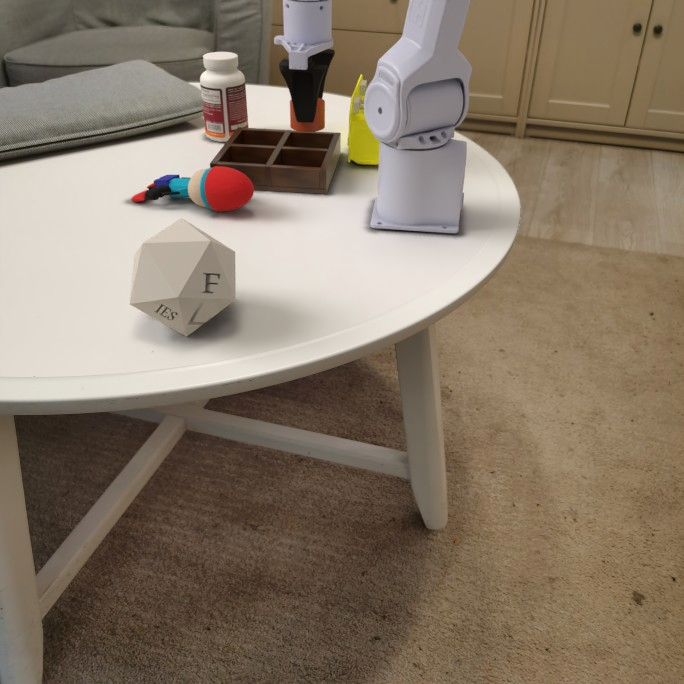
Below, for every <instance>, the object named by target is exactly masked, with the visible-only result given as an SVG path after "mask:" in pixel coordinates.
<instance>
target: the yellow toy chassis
mask: <svg viewBox="0 0 684 684" xmlns="http://www.w3.org/2000/svg"><path fill="white" fill-rule="evenodd" d="M367 88H368V80H367V79H364V77H363V74H360V75H359V78H358V79H357V82H356V85H355V87H354V90H353V92H352V95H351V98H350V104H349V114H348V137H347V147H348V151H347V152H348V153H347V154H348V155H347V162H348V163H351V161H353V162H355V163H356V164H358V165H362V166H363V165H364V166H372V165H375V166H379V148H380V141H379V140H377V139H375V138H374V134H373V133H372V132H371V130H370V128H369V127H368V124H367V122H366V119H365V114H364V98H365V94H366V90H367Z"/></svg>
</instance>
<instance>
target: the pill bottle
mask: <svg viewBox="0 0 684 684" xmlns="http://www.w3.org/2000/svg"><path fill="white" fill-rule="evenodd" d="M202 61H203V62H202V63H203V67H204V68H205V71H203V72H202V73H201V75H200V76H199V84H200V94H201V104H202V113H203V123H204V132H205V136H206V138H208V140H211V141H213V142H219V143H226V142H227V141H228V140H229V138H230V137H231V136H232V134H233V133H234V132H235V131H236V129H237V128H238V127H242V128H250V127H249V115H248V105H247V104H248V103H247V102H248V100H247V88H246V78H245V74H244V73H243V71H241V70H239V69H238V67H239V55H238V54H237V53H235V52H230V51H212V52H208V53H205V54H203V55H202Z"/></svg>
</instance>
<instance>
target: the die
mask: <svg viewBox="0 0 684 684" xmlns="http://www.w3.org/2000/svg"><path fill="white" fill-rule="evenodd" d="M131 275H132V276H131V285H130V295H129V305H130V306H132V307H133V308H136V309H137V310H139V311H141V312H142V313H144V314H146V315H147V316H149V317H151V318H153V319H154V320H156V321H159V322H160V323H161V324H163V325H165V326H166V327H169V328H170V329H172V330H174V331H175V332H177V333H179V334H181V335H183V336H184V337H186V338H187V337H188V336H190V335H191V334H193V333H194V332H195V331H196V330H198V329H199V328H200V327H202V326H203V325H204V324H206V323H207V322H208V321H210V320H211V319H212V318H214V317H215V316H216V315H218V314H219V313H220V312H221V311H223V310H224V309H225V308H227V307H228V306H229V305H231V304H232V303H234V302H235V301H236V300H237V299H236V298H237V297H236V295H237V294H236V293H237V292H236V291H237V290H236V285H237V284H236V250H235V251H234V250H233V249H232V248H230V247H228V246H227V245H225V244H223V243H222V242H221V241H219V240H218V239H216V238H215V237H213V236H211V235H209V234H208V233H207V232H205V231H204V230H202V229H200V228H198V227H197V226H195V225H194V224H192V223H191V222H189V221H188V220H186V219H184V218H182V217H180V218H179V219H178V220H176V221H175V222H173V223H172V224H170V225H168V226H167V227H165V228H164V229H162V230H161V231H159V232H158V233H156V234H154V235H153V236H151V237H150V238H147V240H145V241H144V242H142V243H141V244H140V247H139V248H138V249H137V251H136V252H135V254H134V256H133V264H132V273H131Z"/></svg>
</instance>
